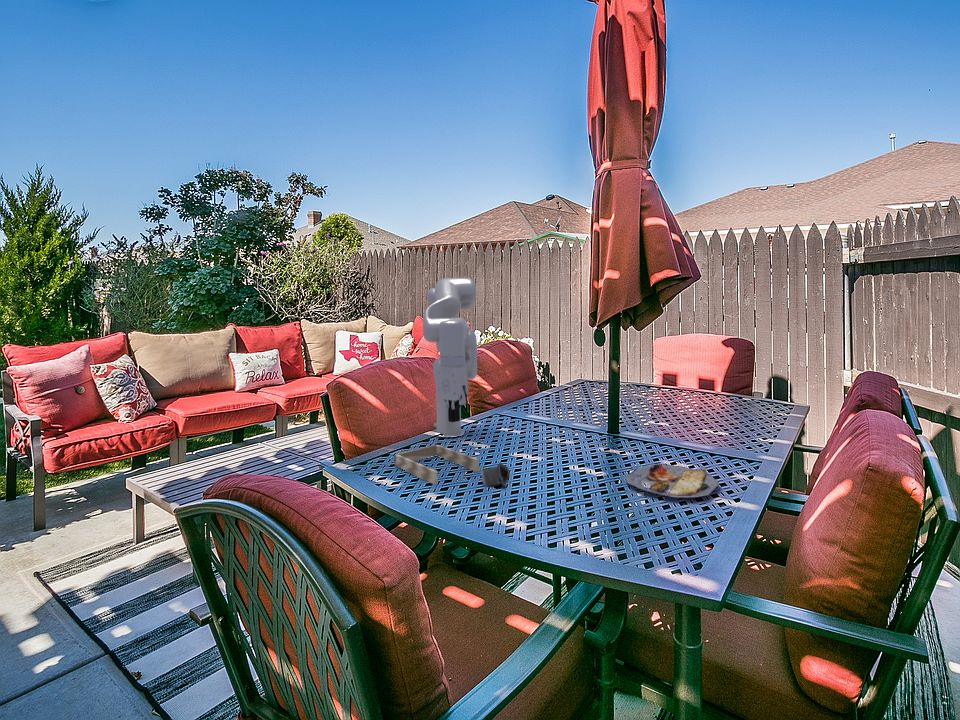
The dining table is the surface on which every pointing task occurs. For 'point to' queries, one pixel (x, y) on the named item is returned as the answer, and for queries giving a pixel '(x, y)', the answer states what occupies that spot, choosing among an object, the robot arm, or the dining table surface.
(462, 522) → the dining table surface
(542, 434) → the dining table surface
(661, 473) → the food plate
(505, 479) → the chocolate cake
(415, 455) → the beige u-shaped frame
